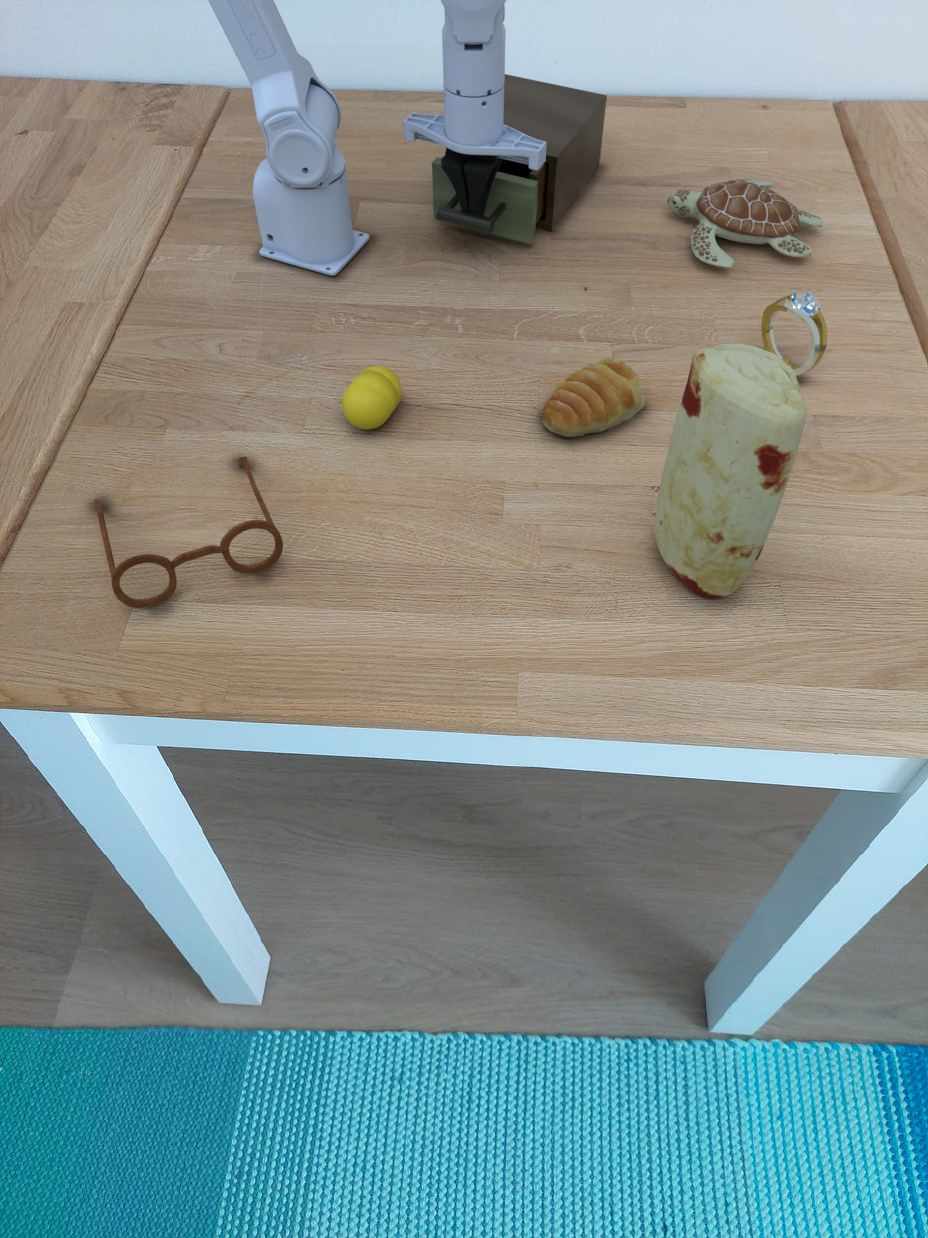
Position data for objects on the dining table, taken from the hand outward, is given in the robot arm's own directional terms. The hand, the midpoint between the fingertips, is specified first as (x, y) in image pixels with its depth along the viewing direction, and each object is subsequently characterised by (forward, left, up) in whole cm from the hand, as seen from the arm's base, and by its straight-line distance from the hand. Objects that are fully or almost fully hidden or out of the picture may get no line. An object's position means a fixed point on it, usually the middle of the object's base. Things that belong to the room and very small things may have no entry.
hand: (474, 219), depth 98 cm
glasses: (-4, -47, -4) cm, 47 cm away
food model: (+35, -33, -4) cm, 48 cm away
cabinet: (0, +14, -4) cm, 15 cm away
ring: (+35, -6, -4) cm, 36 cm away
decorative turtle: (+25, +15, -4) cm, 29 cm away
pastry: (+21, -19, -4) cm, 28 cm away
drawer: (0, +6, -3) cm, 7 cm away
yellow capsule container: (+3, -28, -4) cm, 28 cm away
